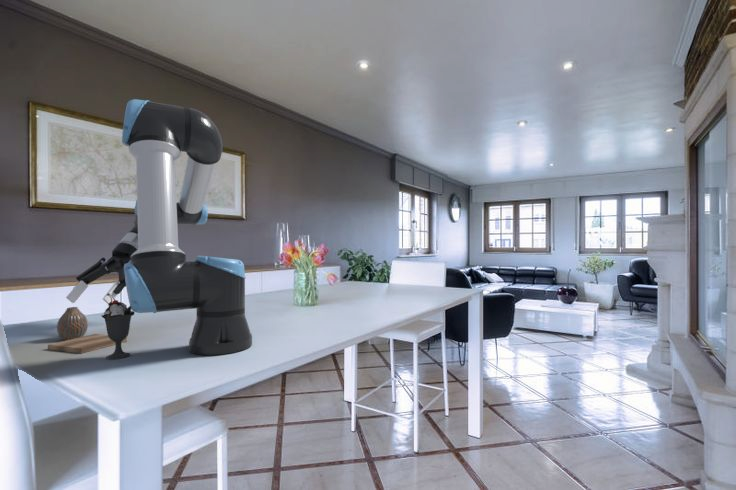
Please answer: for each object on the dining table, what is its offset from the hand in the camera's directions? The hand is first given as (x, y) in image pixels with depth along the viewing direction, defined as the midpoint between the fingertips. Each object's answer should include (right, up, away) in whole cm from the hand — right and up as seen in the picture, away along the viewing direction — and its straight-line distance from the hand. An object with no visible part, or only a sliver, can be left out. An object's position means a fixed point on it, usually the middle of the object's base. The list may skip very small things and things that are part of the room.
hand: (87, 301), depth 114 cm
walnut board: (+10, -10, -13) cm, 19 cm away
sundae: (+24, -10, -23) cm, 35 cm away
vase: (0, -10, -5) cm, 11 cm away
